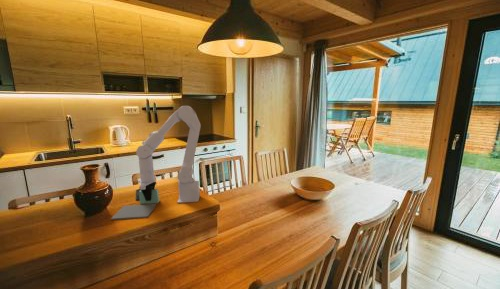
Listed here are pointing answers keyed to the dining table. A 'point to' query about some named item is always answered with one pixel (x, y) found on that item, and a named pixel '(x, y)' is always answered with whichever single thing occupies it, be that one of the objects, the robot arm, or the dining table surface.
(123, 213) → the mat
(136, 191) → the phone
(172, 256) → the dining table surface
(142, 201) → the block
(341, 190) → the dining table surface
